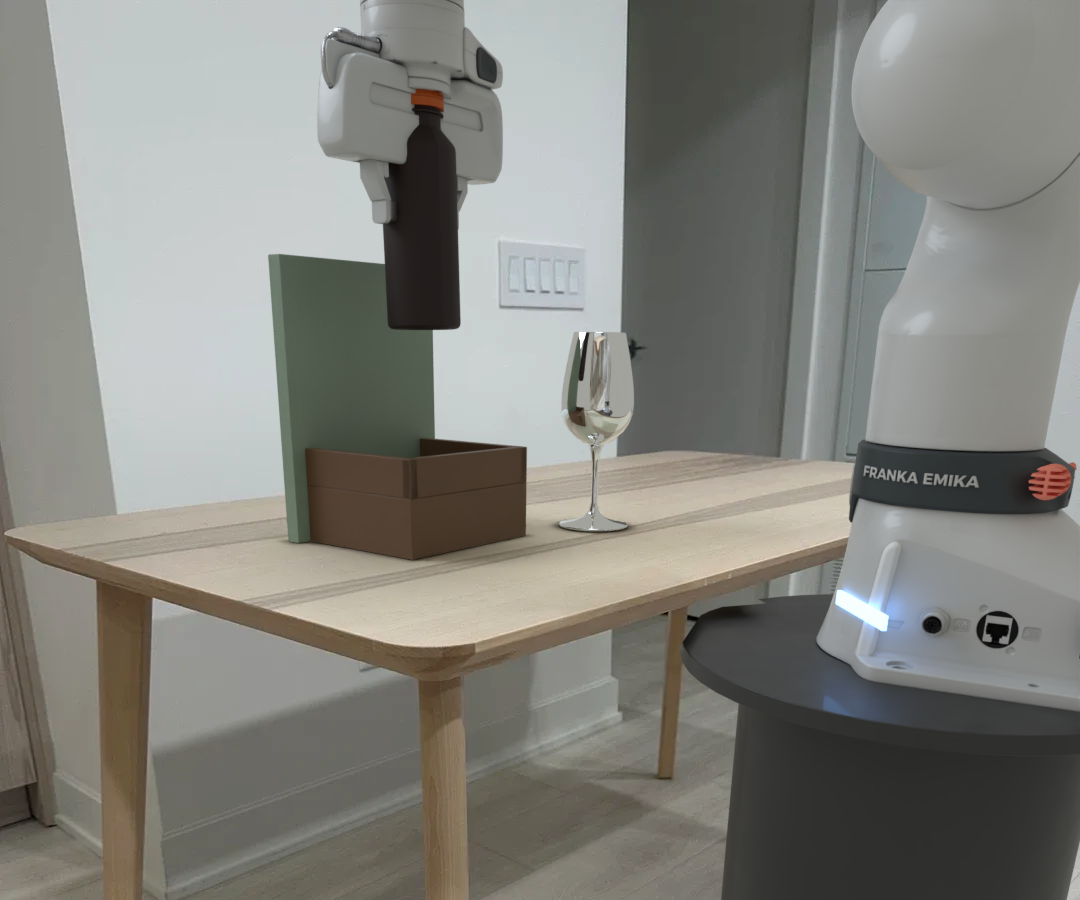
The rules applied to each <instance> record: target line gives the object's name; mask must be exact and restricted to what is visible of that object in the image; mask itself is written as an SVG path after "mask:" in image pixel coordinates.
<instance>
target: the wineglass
mask: <svg viewBox="0 0 1080 900" xmlns="http://www.w3.org/2000/svg"><path fill="white" fill-rule="evenodd" d="M631 359H632V358H631V354H630V348H629V341H628V335H627V332H621V331H619V332H618V331H617V332H616V331H615V332H614V331H573V332H572V335H571V340H570V345H569V348H568V353H567V357H566V363H565V367H564V372H563V377H562V384H561V392H560V393H561V394H560V413H561V418H562V420H563V423H564V425H565V426H566V428H567V430H568V431H569V432H570V433H571V435H572V436H574V437H575V438H576V439H577V440H579V441H580V442H582V443H583V444H586V445H587V446H588V447H589V450H590V456H591V487H590V488H591V489H590V505H589V508H588V510H587V511H586V513H585V514H584V515H582V516H580V517H573V518H566V519H563V520H560V521H559V522H558V526H559V527H561V528H562V529H566V530H571V531H578V532H587V533H590V532H591V533H595V532H596V533H606V532H616V531H622V530H624V529H627V528H628V526H629V524H628V523H627V522H626V521H623V520H620V519H615V518H608V517H605V516H604V515H603V513H601V511H600V507H599V504H598V503H599V502H598V494H599V491H598V490H599V467H600V458H601V453H602V449H603V448H604V446H605V445H608V444H610V443H612V442H613V441H615V440H616V439H617V438H619V437H620V436H621V435H622V434H623V433H624V432H625V431H626V429H627V428H628V426H629V425H630V424H631V421H632V418H633V416H634V410H635V384H634V376H633V375H634V374H633V368H632V361H631Z"/></svg>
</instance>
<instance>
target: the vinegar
mask: <svg viewBox="0 0 1080 900" xmlns="http://www.w3.org/2000/svg"><path fill="white" fill-rule="evenodd" d="M419 78H420V77H419ZM411 104H413V105H414V108H412V111H414V112H415V115H419V125H418V126H417V127H416V128H415V129H414V131H413V132H412V133H411V135H410V136H409V138H408V140H407V158H406V162H405V163H404V164H395V163H390V162H389V177H386V178H384V179H385V182H386V185H387V188H388V191H389V194H390V197H391V201H396V202H398V211H397V214H398V221H397V223H396V224H390V225H385V224H382V231H383V232H382V236H383V254H384V264H385V278H386V298H387V317H388V326H389V327H390V328H391V329H395V330H433V331H451V330H458V329H459V328H460V327H461V324H462V322H461V321H462V319H461V291H460V290H461V288H460V286H461V285H460V283H461V281H460V252H459V251H460V250H459V248H460V247H459V229H458V211H457V176H456V150H455V147H454V145H453V144H452V143H451V142H450V140H449V139H448V138H447V137H446V136H445V134H444V133H443V132H442V131H441V119H440V118H442V119H443V117H444V115H443V114H442V113H440V112H444V98H443V95H442V94H439V91H429V90H422V89H416V93H414V94H411Z"/></svg>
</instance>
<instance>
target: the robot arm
mask: <svg viewBox="0 0 1080 900" xmlns="http://www.w3.org/2000/svg"><path fill="white" fill-rule="evenodd" d="M464 1H465V0H360V1H359V7H360V8H359V11H360V13H359V14H360V33H358V32H355V31H354V32H353V31H351V30H350V29H349V28H347V27H343V26H335V27H334V29H333V30H332V31H329V32H328V33H327V34H326V35H325V36H324V38H323V40H321V43H320V67H321V70H320V75H319V82H318V94H317V114H316V118H317V119H316V120H317V122H316V127H317V128H316V130H317V131H316V132H317V133H316V134H317V135H316V136H317V142H318V144H319V145H320V148H321V150H322V152H323V154H324V155H325V156H326V157H328V158H331V159H337V160H342V161H347V162H352V163H357V164H359V177H360V181H361V182H362V186H363V187H364V190H365V191H366V193H367V196H368V198H369V200H370V201H371V219H372V222H373V223H374V224H378V225H383V224H385V225H390V224H396V223H397V221H398V214H397V211H398V202H396V201H391V197H390V194H389V191H388V188H387V185H386V182H385V179H384V178H386V177H389V162H390V163H395V164H404V163H405V162H406V158H407V140H408V138H409V136H410V135H411V133H412V132H413V131H414V129H415V128H416V127H417V126H418V125H419V115H415V112H414V111H412V108H414V105H413V104H411V94H414V93H416V89H422V90H429V91H439V94H442V95H443V98H444V112H440V113H442V114H443V115H444V117H443V119H442V118H440V119H441V131H442V132H443V133H444V134H445V136H446V137H447V138H448V139H449V140H450V142H451V143H452V144H453V145H454V147H455V150H456V176H457V211H458V230H459V229H460V212H461V209H462V207H463V204H464V202H465V200H466V198H467V195H468V194H469V193H468V192H469V191H468V188H469V187H468V185H469V186H478V185H479V186H480V185H489V184H495V183H496V182H497V181H498V178H499V176H500V174H501V172H502V169H503V158H504V157H503V156H504V155H503V153H504V152H503V151H504V147H503V146H504V128H503V126H504V125H503V111H502V105H501V101H500V99H499V97H498V94H496V92H495V91H494V90H498V89H500V88H502V85H503V82H504V81H503V80H504V79H503V78H504V71H503V70H504V69H503V66H502V64H501V62H500V61H499V59H498V58H496V56H494V55H493V54H492V53H491V52H490V51H489V50H488V48H486V47H485V46H484V45H483V44H482V43H481V42H480V40H479V39H478V38H477V37H476V36H475V34H474V33H473V32H472V31H471V29H470V28H468V27H467V26H465V25H466V24H465V23H466V22H465V20H466V19H465V2H464ZM852 72H853V73H852V79H851V108H852V113H853V118H854V121H855V125H856V127H857V130H858V132H859V134H860V136H861V137H860V138H862V140H863V142H864V143H865V145H866V147H868V149H869V150H870V151H871V153H872V154H873V156H874V157H875V158H876V159H877V161H878V162H879V163H880V165H882V167H884V169H885V170H886V171H887V172H888V173H889V175H890V176H892V178H894V179H895V180H896V182H898V183H899V184H901V185H902V186H904V187H905V188H906V189H909V190H911V191H913V192H914V193H917V194H921V195H925V196H926V198H925V199H926V201H925V208H924V213H923V216H922V220H921V224H920V227H919V230H918V233H917V236H916V240H915V242H914V245H913V249H912V253H911V254H910V257H909V259H908V263H907V266H906V268H905V270H904V273H903V276H902V278H901V281H900V283H899V285H898V287H897V289H896V290H895V292H894V294H893V295H892V296H891V298H890V299H889V300H888V302H887V304H886V306H885V308H884V310H883V311H882V313H881V316H880V321H879V323H878V331H877V337H876V339H877V340H876V348H875V355H874V356H875V357H874V363H873V371H872V379H871V387H870V394H869V395H870V396H869V403H868V412H867V421H866V427H865V428H866V429H865V435H864V437H865V438H864V439H862V440H861V441H859V442H858V444H857V449H856V454H855V460H854V464H853V468H852V473H851V479H850V487H849V498H848V499H849V500H848V502H849V503H848V505H849V512H848V520H849V522H850V523H851V525H850V531H849V535H848V538H847V539H848V540H847V545H846V549H845V553H844V557H843V560H842V564H841V569H840V572H839V576H838V579H837V583H836V586H835V589H834V593H833V594H834V595H833V598H832V601H831V604H830V607H829V610H828V612H827V615H826V617H825V619H824V622H823V624H822V627H821V629H820V631H819V633H818V635H817V638H816V641H817V644H818V645H819V646H820V647H821V648H822V649H823V650H824V651H825V652H827V653H828V654H830V655H832V656H834V657H836V658H838V659H840V660H842V661H844V662H846V663H847V664H849V665H850V666H851V667H852V668H853V670H854V671H855V672H856V673H857V675H859V676H860V677H861V678H863V679H866V680H869V681H873V682H878V683H885V684H892V685H899V686H906V687H912V688H919V689H926V690H933V691H940V692H947V693H953V694H960V695H967V696H974V697H981V698H987V699H994V700H1001V701H1008V702H1015V703H1022V704H1028V705H1035V706H1042V707H1049V708H1056V709H1063V710H1069V711H1076V712H1080V525H1079V523H1077V522H1076V520H1074V519H1073V518H1072V517H1071V516H1070V515H1069V514H1068V513H1067V512H1065V510H1064V509H1065V508H1067V507H1069V504H1070V501H1071V497H1072V493H1073V488H1074V482H1075V479H1076V477H1075V476H1076V475H1075V474H1076V471H1077V469H1078V468H1077V464H1076V463H1075V462H1073V461H1072V462H1070V463H1069V462H1067V461H1066V460H1064V459H1063V458H1062V457H1060V456H1059V455H1058V454H1056V453H1054V452H1053V451H1051V450H1050V449H1049V448H1047V447H1045V446H1046V441H1047V434H1048V429H1049V424H1050V420H1051V414H1052V409H1053V402H1054V398H1055V393H1056V392H1055V391H1056V387H1057V381H1058V377H1059V370H1060V366H1061V365H1060V364H1061V360H1062V355H1063V350H1064V345H1065V341H1066V340H1065V339H1066V336H1067V335H1066V334H1067V330H1068V326H1069V321H1070V317H1071V314H1072V309H1073V305H1074V302H1075V299H1076V295H1077V292H1078V288H1079V286H1080V0H886V2H885V3H884V5H883V6H882V7H880V10H879V11H878V13H877V14H876V15H875V17H874V18H873V20H872V22H871V24H870V25H869V27H868V29H867V31H866V33H865V35H864V37H863V40H862V41H861V44H860V47H859V50H858V52H857V56H856V60H855V63H854V67H853V71H852ZM419 77H420V78H419Z"/></svg>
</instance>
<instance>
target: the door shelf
mask: <svg viewBox="0 0 1080 900" xmlns="http://www.w3.org/2000/svg"><path fill="white" fill-rule="evenodd" d="M267 259H268V271H269V272H268V274H269V275H268V276H269V287H270V302H271V315H272V317H271V318H272V329H273V343H274V344H273V345H274V359H275V372H276V373H275V374H276V385H277V386H276V387H277V388H276V389H277V402H278V415H279V427H280V429H279V430H280V442H281V444H280V445H281V456H282V457H281V458H282V470H283V471H282V472H283V485H284V498H285V499H284V500H285V512H286V529H287V541H288V542H290V543H296V544H302V543H308V542H313V543H317V544H324V545H329V546H334V547H340V548H346V549H350V550H357V551H363V552H368V553H372V554H378V555H383V556H388V557H394V558H400V559H404V560H410V561H414V560H419V559H423V558H428V557H433V556H437V555H441V554H442V555H443V554H447V553H451V552H457V551H460V550H464V549H466V550H467V549H470V548H475V547H479V546H483V545H488V544H494V543H497V542H501V541H502V542H503V541H507V540H511V539H517V538H521V537H525V536H527V479H528V478H527V477H528V476H527V475H528V473H527V472H528V470H527V468H528V447H527V446H522V445H521V446H520V445H510V444H500V443H491V442H490V443H489V442H477V441H466V440H455V439H445V438H444V439H443V438H436V427H435V425H436V424H435V423H436V422H435V420H436V419H435V375H434V374H435V373H434V371H435V369H434V330H395V329H391V328H390V327H389V326H388V317H387V298H386V278H385V263H380V262H379V263H378V262H368V261H358V260H347V259H339V258H337V259H336V258H326V257H315V256H305V255H295V254H287V253H272V254H271V253H268V255H267Z"/></svg>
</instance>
